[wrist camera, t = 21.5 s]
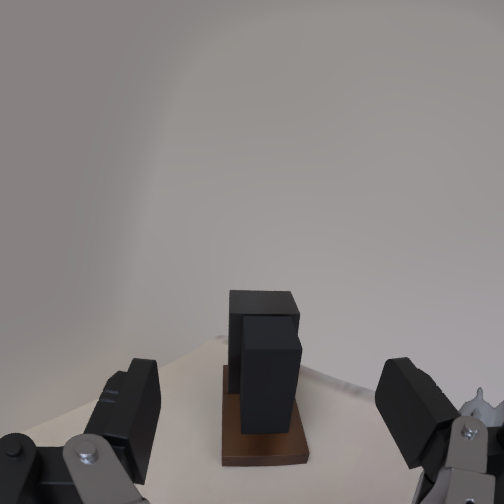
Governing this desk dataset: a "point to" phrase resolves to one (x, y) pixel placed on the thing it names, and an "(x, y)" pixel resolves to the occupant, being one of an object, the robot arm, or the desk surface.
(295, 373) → the black rectangular block
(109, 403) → the robot arm
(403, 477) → the desk surface
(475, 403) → the round bodied animal figurine
